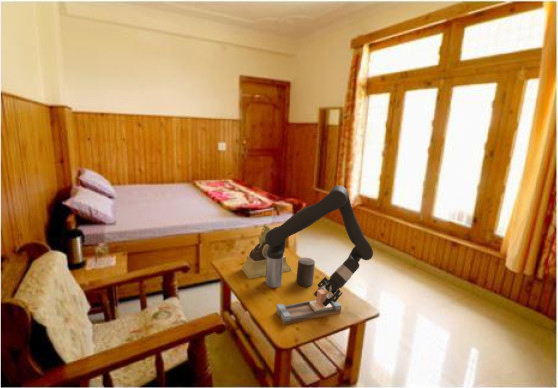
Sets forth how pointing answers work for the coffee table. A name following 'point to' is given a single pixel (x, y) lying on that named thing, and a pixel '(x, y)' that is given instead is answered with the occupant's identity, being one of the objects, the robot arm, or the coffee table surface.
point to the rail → (304, 311)
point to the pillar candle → (305, 272)
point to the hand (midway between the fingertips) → (319, 300)
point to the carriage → (320, 301)
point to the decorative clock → (260, 258)
